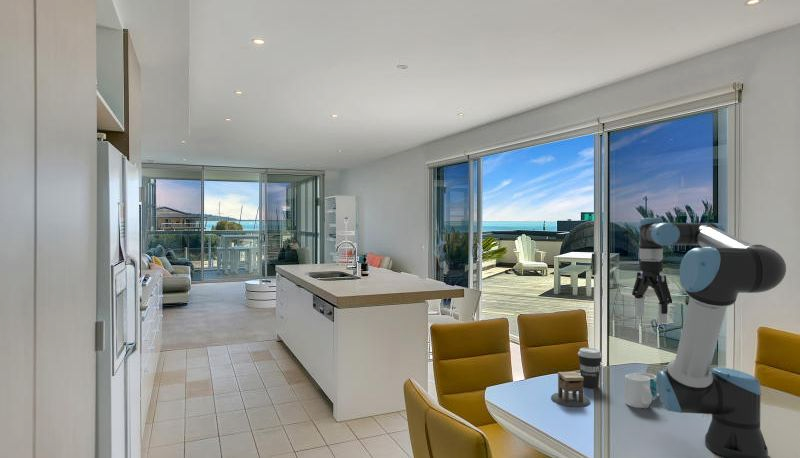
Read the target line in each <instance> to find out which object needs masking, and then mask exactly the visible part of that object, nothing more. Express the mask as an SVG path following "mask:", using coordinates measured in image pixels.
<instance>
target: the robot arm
mask: <svg viewBox="0 0 800 458" xmlns="http://www.w3.org/2000/svg"><path fill="white" fill-rule="evenodd" d="M638 229H639V253H638V254H639V259H640V260H639V261H638V262H639V268H638V269H639V271H638V272H636V279H635V282H634V286H633V289H632V292H631V295H632V296H634V298H635V316H637V317H640V316H641V317H644V316H645V297H644V295H645V293H646V292H647V290H648V288H649V287H650V288H651V289H653V290H654V291H653V292H654V293H655V295H656V297H657V299H658V305H657V306H658V310H657V311H658V314H657V315H658V317H657V320H658V323H659V324H668V309H669V308H668V307H669V306H668V305H670V304H672V303H673V299H672V296H671V293H670V288H669V285H668V282H667V275H665V274H664V275H662V274H661V272H663V271H664V262H663V261H662V260H663V259H664V254H663V253H664V251H663V250H664V246H699V247H694V248H692V249H690V250H688V251H687V252H686V253H685V254H684V256H683V258H682V259H681V262H680V265H679V273H680V274H679V282H680V285H681V288H683V289H684V291H685V294H686V295H687V297H689V298H688V299H689V300H688V304H687V309H686V312H685V317H684V322H683V325H682V330H681V334H680V337H679V343H678V346H677V350H676V355H675V359H673V360H671V361H670V362H669V363H668V364H667V367H666V370H659V371H658V372H657V373H656V376H657V377H656V381H657V389H658V393H657V394H658V397H659V399H660V401H661V404H662V406H663V408H664V409H666V410H667V411H668V412H674V413H680V414H683V413H684V414H700V415H701V414H703V415H711V420H710V421H711V422H710V424H709V425H708V426H709V427H708V429H707V432H706V434H705V436H704V444H705V447H706V448H707V449H708V450H710V451H711V452H713V453H715V454H716V455H719V456H722V457H724V458H769V449H768V446H767V445H766V441H765V438H764V436H763V433H762V430H761V398H762V397H761V396H762V392H761V391H762V390H761V384H760V382H761V381H759V379H758V378H756V376H753V375H751V374H749V373H747V372H744V371H740V370H736V369H733V368H727V367H722V366H715V367H712V369H711V365H712V362H713V357H714V353H715V351H716V347H717V343H718V340H719V336H720V333H721V330H722V329H721V328H722V325H723V322H724V317H725V314H726V311H727V307H730V306H733V305H734V304H735V302H736V301H737V297H738V295H739V293H744V294H745V293H747V294H750V293H751V294H753V293H754V294H755V293H756V294H759V293H765V292H767V291H770V290H772V289H774V288H776V287H777V286H778V285H780V284H781V283H782V281H783V280H784V278H785V277H786V273H787V264H786V261H785V260H784V257H783V256H782V255H781V254H780V253H779V252H777V251H776V250H774V249H772V248H771V247H768V246H767V245H763V244H752V243H750V242H748V241H746V240H743V239H742V238H739V237H737V236H734V235H733V234H730V233H728V232H726V229H725V228H724V226H723V225H722V224H721V223H716V222H686V223H685V222H664V220H663V218H661V217H643V218H640V219H639V227H638ZM710 369H711V371H710Z"/></svg>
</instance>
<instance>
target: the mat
mask: <svg viewBox="0 0 800 458" xmlns="http://www.w3.org/2000/svg"><path fill="white" fill-rule="evenodd" d="M550 399H551V400H552V402H553V403H555V404H558V405H561V406H565V407H572V408H582V407H583V408H584V407H588V406H589V405H590V404H591V399H589V398H588V397H587V396H585V395H583V402H579V393H577V397H573V396H572V392H569V402H565V401H564V391H562V397H559V396H558V392H556V393H553V394H551V395H550Z"/></svg>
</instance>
